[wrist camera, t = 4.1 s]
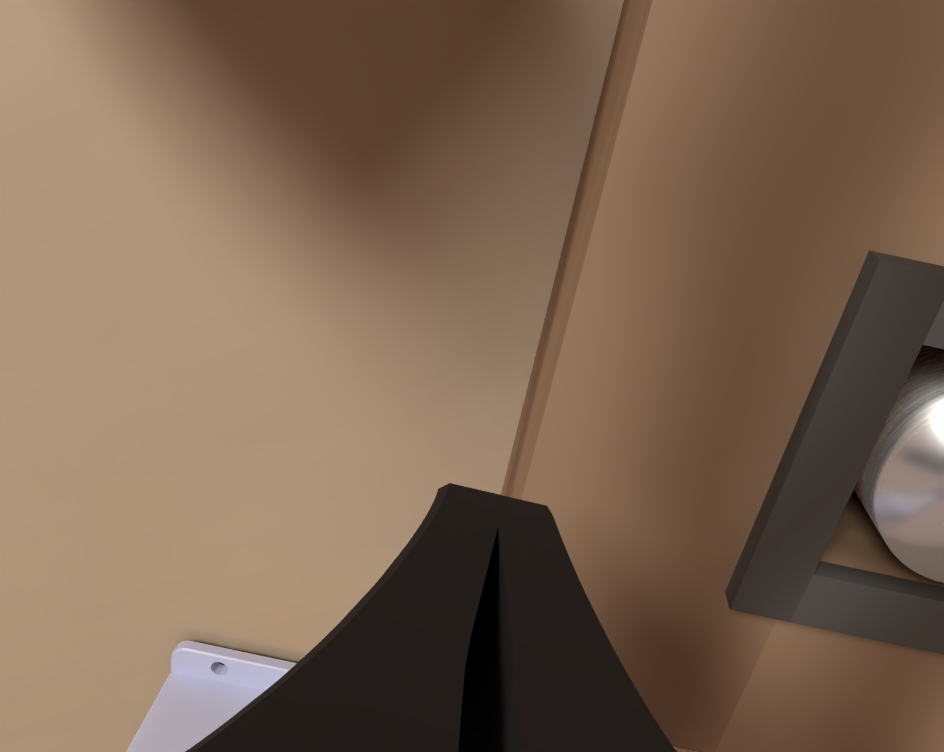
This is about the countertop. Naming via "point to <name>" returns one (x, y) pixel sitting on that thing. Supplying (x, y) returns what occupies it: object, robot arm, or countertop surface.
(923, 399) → the steel peg
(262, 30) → the countertop surface
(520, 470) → the walnut block
